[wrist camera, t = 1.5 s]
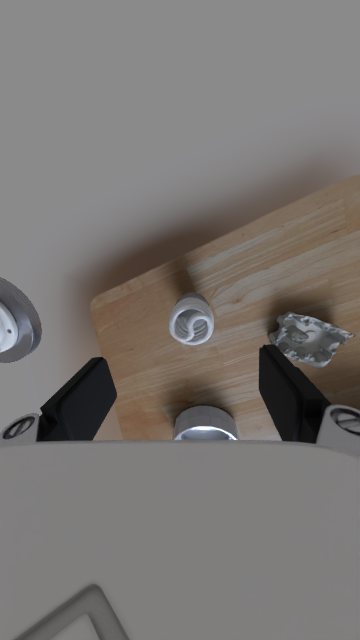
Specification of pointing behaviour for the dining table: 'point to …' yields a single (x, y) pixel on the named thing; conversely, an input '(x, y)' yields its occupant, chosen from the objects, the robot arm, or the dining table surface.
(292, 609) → the robot arm
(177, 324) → the light bulb
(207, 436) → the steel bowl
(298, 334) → the egg carton
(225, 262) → the dining table surface
